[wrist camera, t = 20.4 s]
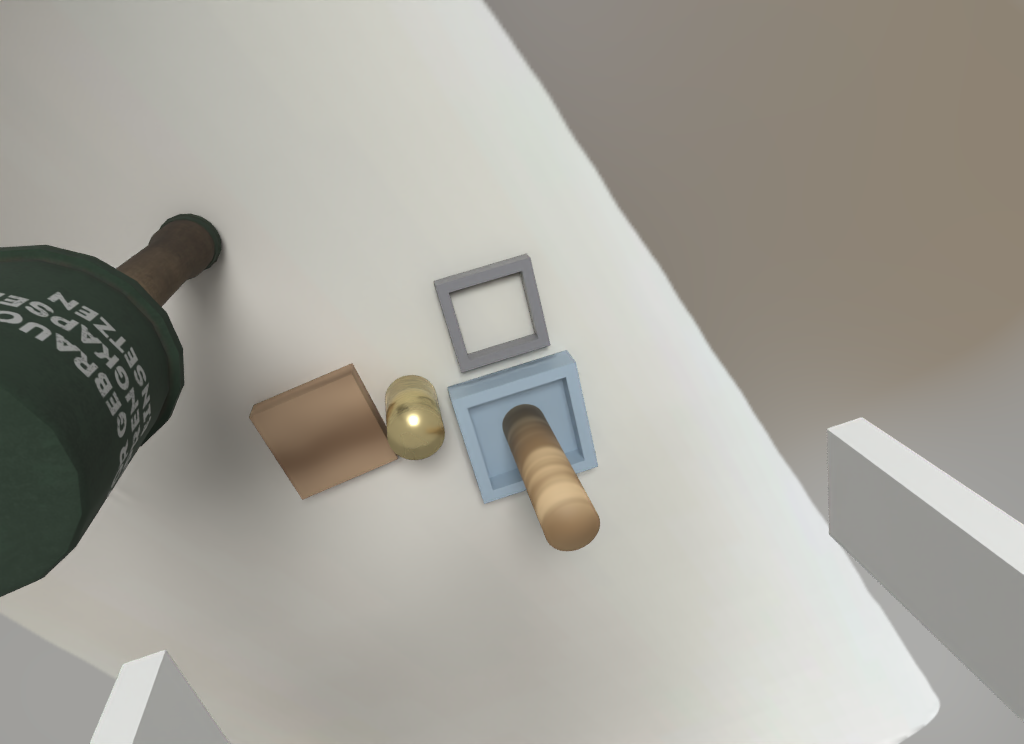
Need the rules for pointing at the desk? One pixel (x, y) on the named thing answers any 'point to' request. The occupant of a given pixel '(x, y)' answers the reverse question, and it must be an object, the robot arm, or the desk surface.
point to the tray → (497, 393)
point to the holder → (484, 275)
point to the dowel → (550, 480)
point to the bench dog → (413, 418)
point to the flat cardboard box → (324, 431)
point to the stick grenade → (83, 382)
